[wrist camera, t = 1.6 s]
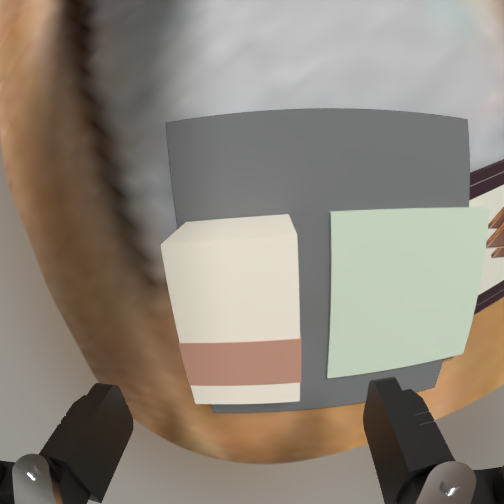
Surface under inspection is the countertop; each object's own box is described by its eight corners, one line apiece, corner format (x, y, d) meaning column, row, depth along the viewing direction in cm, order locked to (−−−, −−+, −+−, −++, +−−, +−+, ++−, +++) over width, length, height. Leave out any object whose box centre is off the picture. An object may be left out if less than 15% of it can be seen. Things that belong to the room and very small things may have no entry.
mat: (169, 123, 14) (163, 122, 13) (479, 122, 13) (488, 122, 12) (213, 406, 20) (212, 415, 19) (447, 378, 18) (452, 385, 18)
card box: (185, 221, 15) (158, 245, 11) (289, 213, 15) (298, 235, 11) (207, 356, 17) (194, 404, 14) (294, 352, 17) (300, 401, 13)
